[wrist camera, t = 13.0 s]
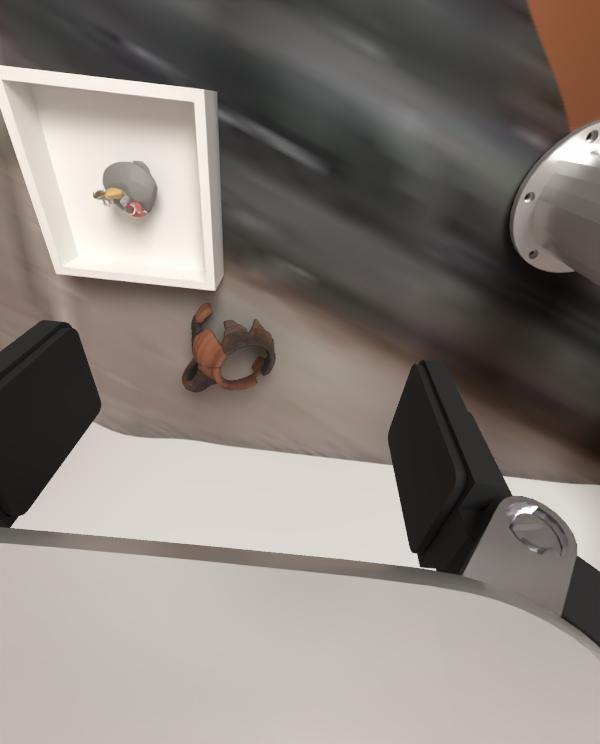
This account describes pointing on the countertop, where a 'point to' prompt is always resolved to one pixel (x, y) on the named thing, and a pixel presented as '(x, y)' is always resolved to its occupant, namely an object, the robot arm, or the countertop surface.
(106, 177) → the figurine
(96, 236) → the bin
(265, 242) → the countertop surface
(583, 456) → the countertop surface
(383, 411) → the countertop surface
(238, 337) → the brown two-tone ridged part
